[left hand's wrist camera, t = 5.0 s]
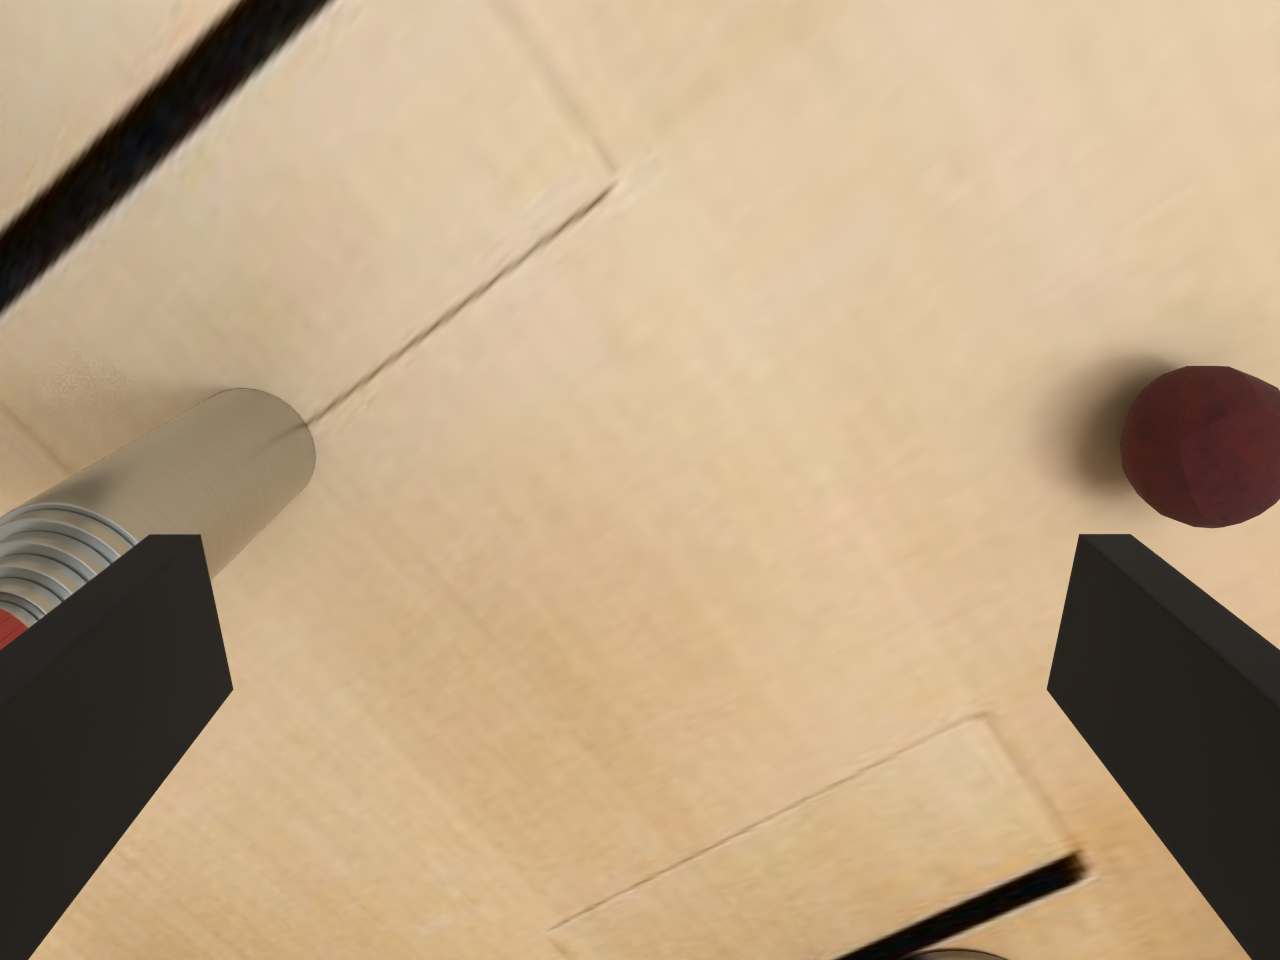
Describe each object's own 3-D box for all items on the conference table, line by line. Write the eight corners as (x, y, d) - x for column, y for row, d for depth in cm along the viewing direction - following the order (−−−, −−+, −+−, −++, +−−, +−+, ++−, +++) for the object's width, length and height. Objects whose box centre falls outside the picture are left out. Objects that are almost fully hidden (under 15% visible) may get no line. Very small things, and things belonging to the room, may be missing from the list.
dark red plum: (1125, 516, 45) (1208, 578, 38) (1067, 400, 43) (1144, 444, 36) (1259, 443, 43) (1369, 495, 37) (1207, 319, 41) (1315, 351, 35)
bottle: (170, 463, 44) (-218, 719, 24) (221, 363, 42) (-156, 552, 22) (283, 526, 45) (3, 819, 25) (337, 432, 43) (79, 669, 24)
